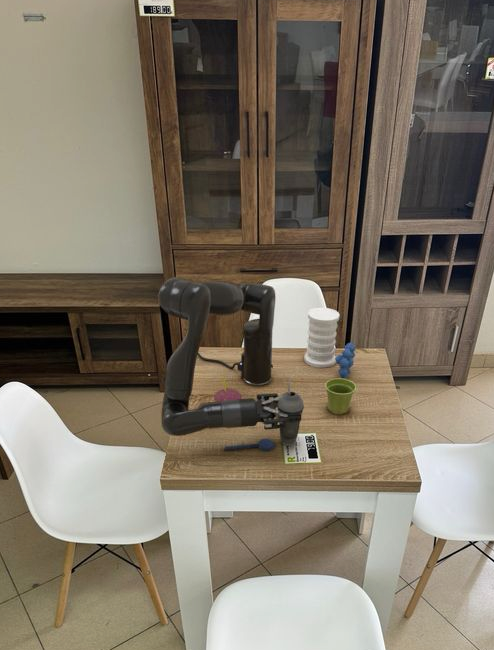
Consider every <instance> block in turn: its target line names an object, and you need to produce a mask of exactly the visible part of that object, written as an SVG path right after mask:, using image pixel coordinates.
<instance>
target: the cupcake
mask: <svg viewBox="0 0 494 650" xmlns="http://www.w3.org/2000/svg"><path fill="white" fill-rule="evenodd" d="M222 383H223V388H221V389H219V390H217V391H216V392H215V393H214V394H213V402H219V401H226V400H234V399H243V396H242V394H241V393H240V392H239V391H237V389H234V388H228V387H227V385H226V384H227V383H226V376H224V375H222Z"/></svg>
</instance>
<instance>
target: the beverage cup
mask: <svg viewBox="0 0 494 650" xmlns="http://www.w3.org/2000/svg"><path fill="white" fill-rule="evenodd" d="M286 379H287V392H284V393H283V394H282V395H281V396H279V397H280V399H279V401H278V405H277V410H278V411H280V412H281V413H284V414H290V413H301V415H303V411H304V409H305V405H304V400H303V398H302V396H301V395H300V394H299V393H298V392H295V391H291V383H290V377H287V378H286ZM280 418H283V417H280ZM279 424H282V423H278V425H279ZM300 424H301V421H297V422H288V423H287V425H286V428H280V429H279V437H280V442H281V443H282V444H283V445H285V446H292V445H295V444H296V443H297V439H298V434H299V430H300V429H299V428H300Z"/></svg>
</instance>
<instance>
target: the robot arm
mask: <svg viewBox="0 0 494 650" xmlns="http://www.w3.org/2000/svg"><path fill="white" fill-rule="evenodd" d="M158 291H159V292H158V296H157V297H158V303H159V306H160V308H161V309H162V310H163V311H164V312H165V313H166V314H167V315H170V316H172V317H176V318H179V319H182V320H185V321H187V329H186V330H187V331H186V334H185V336H184V338H183V340H182V341H181V343H180V344H179V345H178V347H177V348H176V349H175V351H173V353H172V354H171V356H170V358H169V359H168V361H167V364H166V369H165V376H164V389H163V390H164V394H163V399H162V405H161V414H160V415H161V428H162V430H163V431H164V432H165V433H167V434H168V435H170V436H173V437H174V436H176V437H182V436H188V435H191V434H194V433H197V432H201V431H203V430H209V429H221V428H223V429H225V428H226V429H235V428H247V427H256V426H257V424H259V423H263V429H264V430H266V431H268V430H277V429H278V430H280V428H286V425H287V423H288V422H297V421H300V422H301V421H302V415H303V414H302V415H301V413H290V414H284V413H281V412H280V411H278V407H277V405H278V401H279V399H280V397H281V396H279V394H278V393H277V392H276V393H275V392H273V393H259V394H256V399H255V398H253V397H251V398H249V397H248V398H242V399H234V400H226V401H219V402H214V401H210V402H209V401H206V402H202V403H200V404H199V405H198V406H197V408H192V409H189V406H190V397H191V396H192V393H193V392H192V391H193V388H194V387H193V386H194V379H195V378H194V377H195V369H196V365H197V364H196V363H197V358H200V359H201V360H203V361H206V362H214V363H218V364H222V365H223V366H224V367H226V368H228V369H231V370H233V369H234V368H235V367H236V366H237V367H236V369H237V371H239V372H240V376H241V377H240V378H241V380H243V381H244V383H246V384H247V385H249V386H253V387H262V386H266V385H268V384H270V383H271V382H272V369H274V365H273V364H272V362H273V361H272V360H273V329H274V323H275V311H276V310H275V309H276V299H277V298H276V290H275V288H274V287H273V286H271V285H268V284H262V283H257V282H251V281H250V282H243V283H235V282H232V281H227V280H226V281H224V280H208V281H195V280H191V279H187V278H183V277H178V276H174V277H171V278H169V279H166V281H165V282H164V283H163V284H162V285H161V286H160V289H159V290H158ZM240 311H242V312H245V313H249V314H254V315H259V318H255V319H250V320H247V321H246V322H245V323H244V325H243V352H242V353H241V354H240V357H241V358H240V361H239V362H234V363H233V364H232V365H231V366H230V365H228V364H227V363H225V362H224V361H222V360H219V359H214V358H206V357H204V356H202V355H201V354H200V353H199V351H200V347H201V344H202V341H203V337H204V333H205V329H206V325H207V322H208V318H209V315H212V316H218V317H225V316H232V315H235V314H237V313H238V312H240ZM280 417H283V418H280ZM279 423H282V424H279Z"/></svg>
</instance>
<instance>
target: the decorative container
mask: <svg viewBox="0 0 494 650" xmlns="http://www.w3.org/2000/svg"><path fill="white" fill-rule="evenodd" d="M307 318H308V320H309V321H308V330H307V336H308V337H307V340H306V341H307V346H306V352H305V353H304V356H303V358H304V359H303V360H304V363H306V364H307V365H308V366H311V367H313V368H323V369H324V368H325V369H326V368H331V367H332V366H334V365H335V364H337V362H336V360H335V358H336V357H337V356H336V355H335V352H336V344H337V339H336V338H337V329H338V322H339V320H340V313H339V311H337V310H335V309H333V308H330V307H329V308H328V307H314V308H312V309H310V310H308V312H307Z"/></svg>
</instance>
